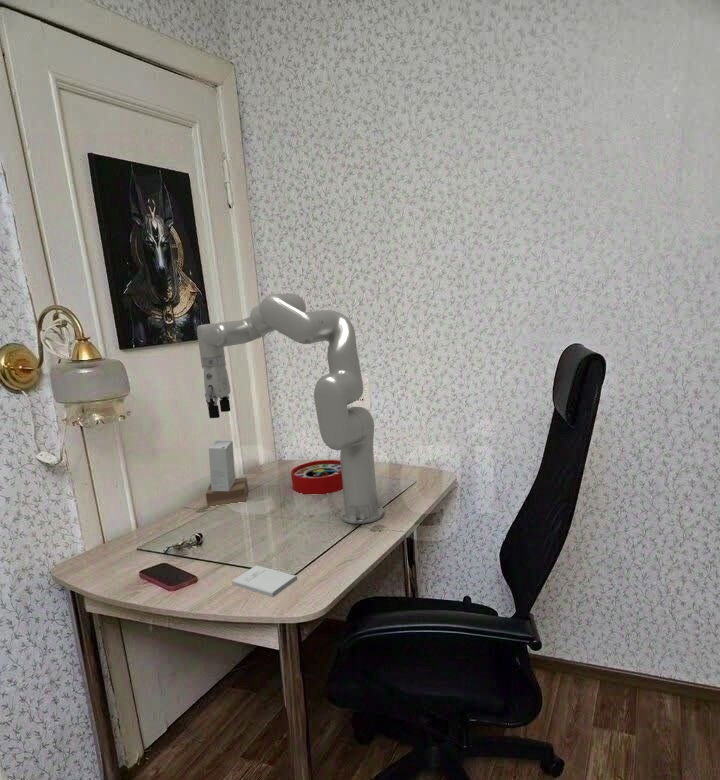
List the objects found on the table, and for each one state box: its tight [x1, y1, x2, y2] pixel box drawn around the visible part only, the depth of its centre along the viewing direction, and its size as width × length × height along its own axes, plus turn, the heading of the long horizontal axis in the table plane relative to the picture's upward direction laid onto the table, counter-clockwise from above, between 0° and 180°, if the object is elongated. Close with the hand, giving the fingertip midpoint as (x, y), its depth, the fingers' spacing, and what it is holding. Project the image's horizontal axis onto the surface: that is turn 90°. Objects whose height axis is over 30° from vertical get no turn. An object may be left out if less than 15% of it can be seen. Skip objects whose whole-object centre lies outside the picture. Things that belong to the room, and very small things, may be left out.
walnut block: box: [205, 477, 249, 508], centre depth 179 cm, size 12×12×5 cm
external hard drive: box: [231, 564, 298, 598], centre depth 122 cm, size 2×8×12 cm
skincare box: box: [208, 440, 236, 491], centre depth 175 cm, size 8×6×15 cm
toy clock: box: [290, 459, 343, 495], centre depth 185 cm, size 20×6×20 cm
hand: (220, 414), depth 176 cm, fingers open, 9 cm apart
